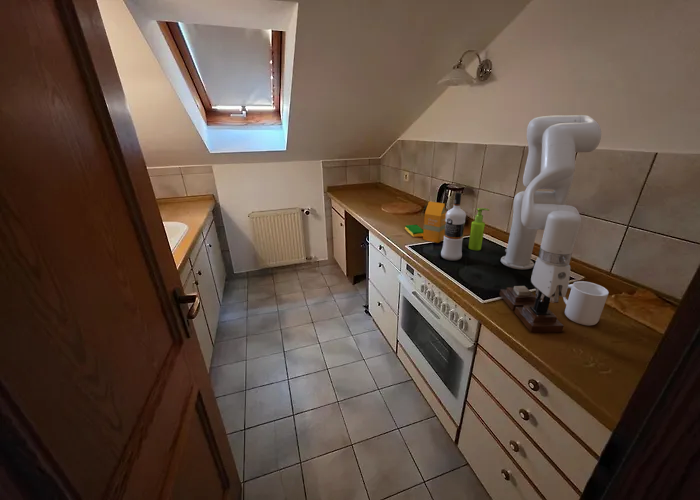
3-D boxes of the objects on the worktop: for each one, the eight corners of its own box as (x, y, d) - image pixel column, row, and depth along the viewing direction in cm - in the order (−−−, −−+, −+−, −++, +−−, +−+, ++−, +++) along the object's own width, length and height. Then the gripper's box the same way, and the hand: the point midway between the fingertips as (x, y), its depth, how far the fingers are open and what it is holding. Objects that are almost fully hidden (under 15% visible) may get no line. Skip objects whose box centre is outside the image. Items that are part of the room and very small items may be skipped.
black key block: (514, 312, 97) (516, 302, 95) (542, 312, 96) (545, 301, 95) (531, 332, 88) (533, 321, 86) (562, 331, 87) (565, 320, 86)
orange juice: (429, 235, 164) (432, 199, 157) (444, 238, 159) (448, 202, 151) (422, 239, 159) (425, 202, 151) (438, 243, 154) (441, 205, 146)
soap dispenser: (485, 250, 143) (491, 210, 135) (470, 250, 144) (475, 210, 136) (480, 245, 149) (486, 206, 141) (466, 245, 149) (471, 206, 141)
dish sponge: (416, 228, 176) (416, 224, 175) (425, 236, 163) (425, 232, 163) (404, 229, 175) (405, 225, 174) (413, 237, 162) (413, 233, 162)
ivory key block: (499, 294, 107) (501, 284, 105) (524, 294, 107) (526, 284, 105) (512, 310, 98) (515, 300, 96) (540, 310, 97) (543, 299, 96)
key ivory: (513, 290, 102) (513, 286, 102) (523, 290, 102) (524, 285, 102) (518, 296, 99) (519, 291, 98) (529, 295, 99) (530, 291, 98)
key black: (529, 311, 93) (530, 307, 92) (541, 311, 93) (542, 306, 92) (535, 318, 89) (537, 313, 89) (548, 318, 89) (549, 313, 89)
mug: (570, 302, 101) (579, 274, 97) (605, 324, 90) (616, 293, 86) (548, 306, 99) (556, 277, 95) (581, 328, 88) (591, 297, 84)
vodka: (466, 258, 135) (474, 193, 124) (450, 262, 132) (457, 195, 120) (451, 251, 143) (458, 189, 131) (436, 255, 140) (442, 191, 128)
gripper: (587, 267, 76) (568, 325, 83) (551, 245, 90) (538, 297, 97) (557, 267, 76) (541, 326, 83) (526, 245, 90) (515, 297, 97)
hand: (540, 310), depth 90 cm, fingers closed
